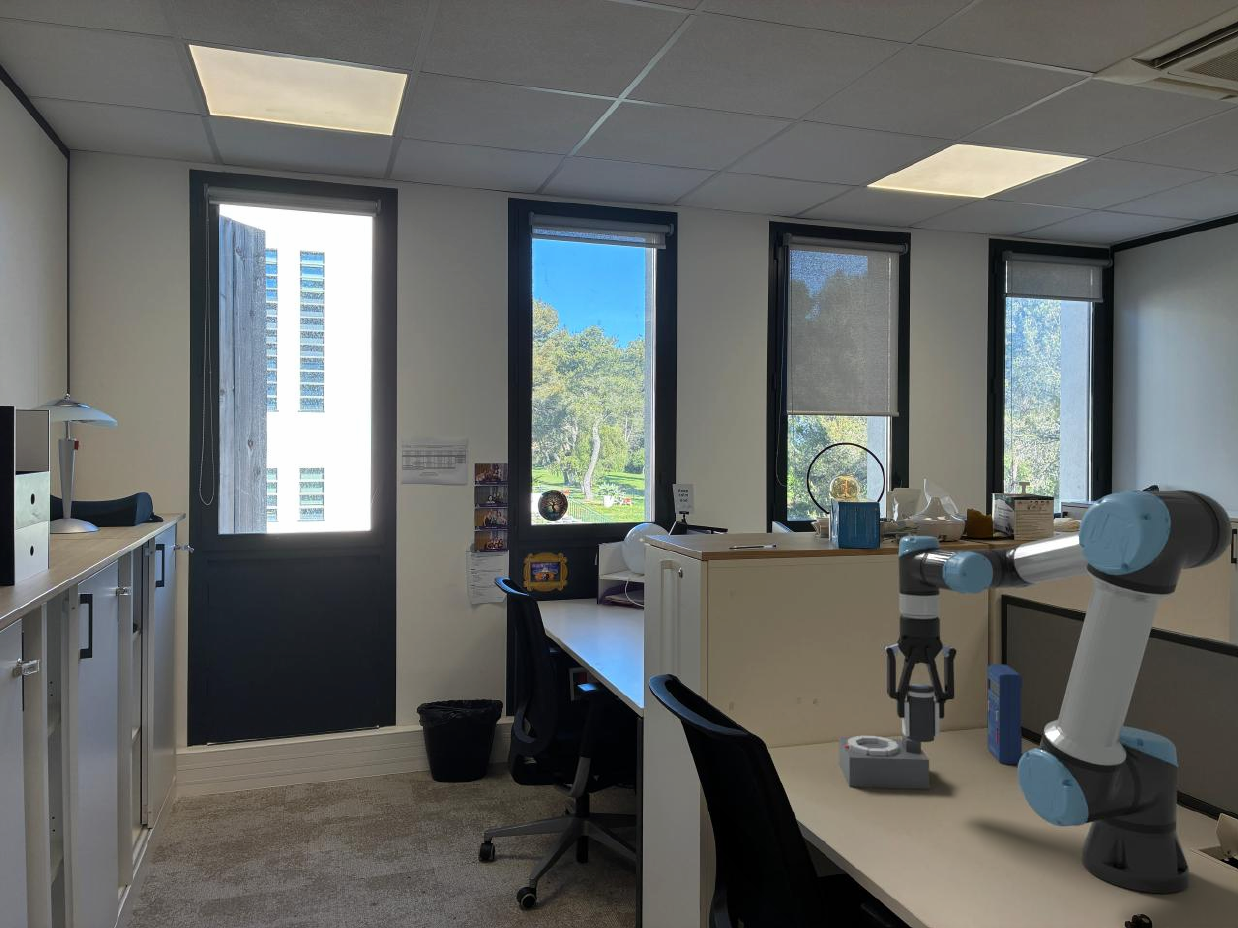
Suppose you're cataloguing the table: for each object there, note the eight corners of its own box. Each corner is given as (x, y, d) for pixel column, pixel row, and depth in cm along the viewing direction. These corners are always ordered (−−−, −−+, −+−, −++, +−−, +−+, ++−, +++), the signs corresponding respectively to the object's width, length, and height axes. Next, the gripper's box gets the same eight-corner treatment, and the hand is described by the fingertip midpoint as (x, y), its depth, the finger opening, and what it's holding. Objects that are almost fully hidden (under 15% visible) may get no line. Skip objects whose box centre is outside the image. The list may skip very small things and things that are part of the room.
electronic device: (985, 749, 204) (986, 663, 204) (1009, 750, 204) (1009, 664, 204) (998, 763, 195) (999, 673, 195) (1022, 764, 194) (1023, 674, 194)
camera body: (929, 788, 180) (929, 747, 180) (849, 786, 182) (849, 745, 182) (913, 766, 193) (913, 728, 193) (839, 764, 195) (839, 726, 195)
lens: (938, 742, 169) (937, 689, 170) (910, 741, 170) (909, 689, 170) (930, 734, 175) (930, 683, 175) (903, 733, 175) (903, 682, 175)
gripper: (960, 612, 175) (962, 729, 175) (868, 611, 177) (869, 727, 177) (972, 618, 168) (974, 741, 168) (876, 618, 169) (877, 739, 169)
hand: (920, 734), depth 172 cm, fingers closed on lens, 5 cm apart
